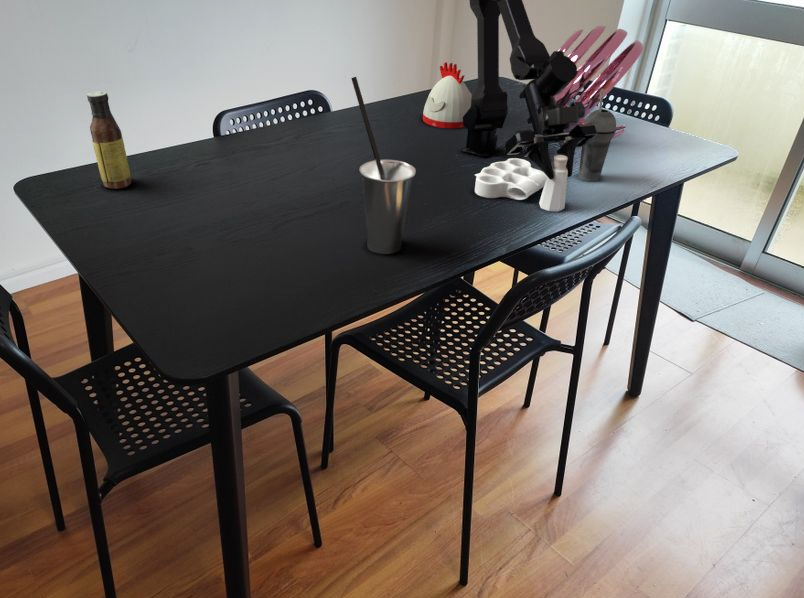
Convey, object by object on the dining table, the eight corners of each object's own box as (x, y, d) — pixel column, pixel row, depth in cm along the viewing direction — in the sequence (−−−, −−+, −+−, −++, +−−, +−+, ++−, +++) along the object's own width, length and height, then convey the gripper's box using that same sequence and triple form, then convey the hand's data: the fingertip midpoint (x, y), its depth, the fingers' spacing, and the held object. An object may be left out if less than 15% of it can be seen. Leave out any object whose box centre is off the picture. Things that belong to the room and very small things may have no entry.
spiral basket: (691, 58, 178) (611, -17, 176) (657, 113, 163) (570, 32, 161) (612, 128, 202) (542, 63, 200) (577, 181, 187) (500, 112, 185)
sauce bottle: (137, 181, 159) (121, 90, 147) (121, 192, 154) (103, 99, 142) (112, 177, 161) (94, 87, 149) (95, 188, 156) (76, 95, 144)
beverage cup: (606, 185, 161) (627, 95, 150) (573, 182, 163) (591, 92, 151) (603, 173, 167) (623, 85, 156) (571, 170, 168) (589, 83, 157)
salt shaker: (566, 204, 153) (577, 154, 146) (561, 214, 149) (571, 163, 142) (541, 199, 154) (550, 150, 148) (535, 209, 150) (544, 158, 144)
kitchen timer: (445, 109, 205) (450, 54, 196) (483, 121, 197) (490, 64, 188) (412, 119, 197) (416, 62, 188) (449, 131, 189) (455, 73, 180)
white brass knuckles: (517, 208, 151) (459, 189, 158) (556, 183, 162) (499, 167, 169) (520, 193, 149) (460, 175, 156) (558, 169, 160) (501, 153, 167)
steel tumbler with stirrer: (349, 233, 140) (351, 75, 122) (405, 232, 141) (415, 75, 123) (353, 260, 131) (356, 94, 114) (414, 258, 132) (426, 93, 114)
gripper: (520, 90, 138) (540, 165, 136) (602, 83, 143) (622, 155, 141) (496, 118, 149) (514, 188, 147) (573, 111, 154) (591, 178, 152)
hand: (561, 177), depth 146 cm, fingers closed on salt shaker, 4 cm apart
